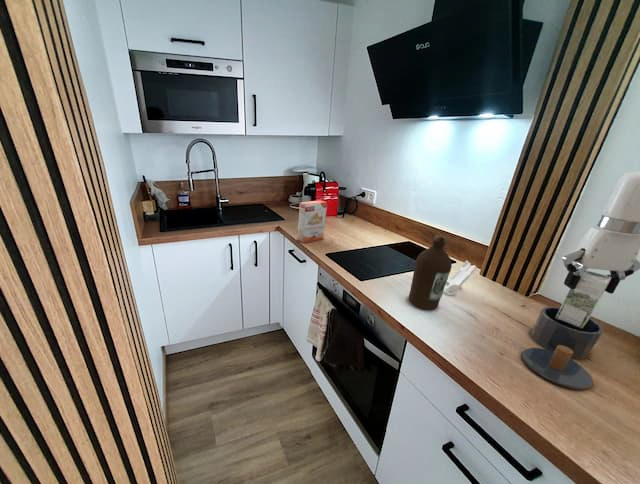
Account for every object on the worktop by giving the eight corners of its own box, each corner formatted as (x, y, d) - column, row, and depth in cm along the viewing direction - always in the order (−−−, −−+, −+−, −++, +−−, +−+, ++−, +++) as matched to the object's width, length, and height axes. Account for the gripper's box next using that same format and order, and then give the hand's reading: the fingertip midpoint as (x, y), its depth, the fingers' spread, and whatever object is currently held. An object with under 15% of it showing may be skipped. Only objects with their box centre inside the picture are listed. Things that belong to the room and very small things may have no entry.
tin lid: (565, 355, 78) (576, 335, 75) (606, 396, 66) (620, 374, 63) (511, 347, 80) (519, 328, 78) (540, 385, 68) (552, 364, 66)
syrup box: (587, 322, 79) (613, 276, 73) (581, 329, 76) (608, 282, 70) (560, 312, 83) (582, 267, 77) (554, 318, 80) (577, 272, 74)
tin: (567, 333, 87) (580, 309, 84) (600, 362, 76) (616, 337, 73) (522, 327, 89) (532, 304, 86) (547, 354, 78) (560, 329, 75)
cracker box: (303, 243, 151) (305, 204, 142) (296, 239, 155) (299, 202, 147) (324, 239, 157) (327, 202, 149) (317, 236, 162) (320, 199, 154)
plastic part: (433, 285, 113) (440, 258, 108) (455, 284, 114) (463, 257, 109) (445, 295, 106) (453, 267, 101) (469, 293, 107) (478, 266, 102)
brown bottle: (400, 299, 102) (415, 233, 92) (419, 292, 107) (436, 229, 97) (426, 314, 94) (445, 244, 84) (446, 307, 98) (467, 239, 89)
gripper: (649, 224, 70) (614, 286, 77) (567, 218, 73) (541, 278, 80) (681, 233, 63) (639, 300, 70) (590, 226, 67) (559, 291, 74)
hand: (587, 288), depth 75 cm, fingers closed on syrup box, 7 cm apart
